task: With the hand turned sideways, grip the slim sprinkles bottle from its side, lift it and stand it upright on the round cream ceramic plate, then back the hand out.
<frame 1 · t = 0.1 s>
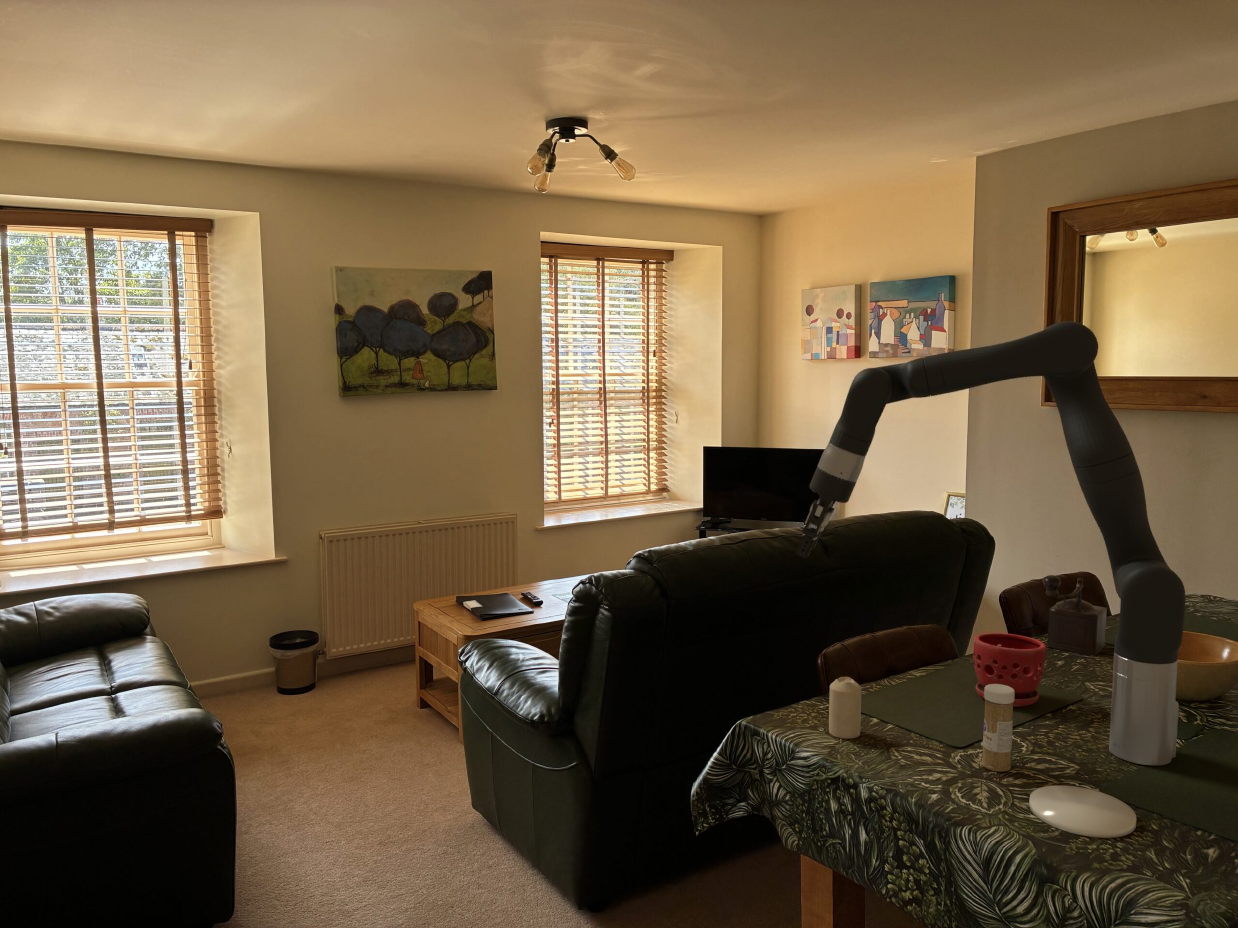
hand: (804, 551, 170), 31 cm above the table, tool tilted 20°, fingers open, 8 cm apart
plant pot: (1007, 699, 181), on the table
sprinkles bottle: (996, 767, 150), on the table
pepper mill: (1071, 649, 213), on the table
candle: (844, 733, 165), on the table
cream plate: (1081, 813, 134), on the table
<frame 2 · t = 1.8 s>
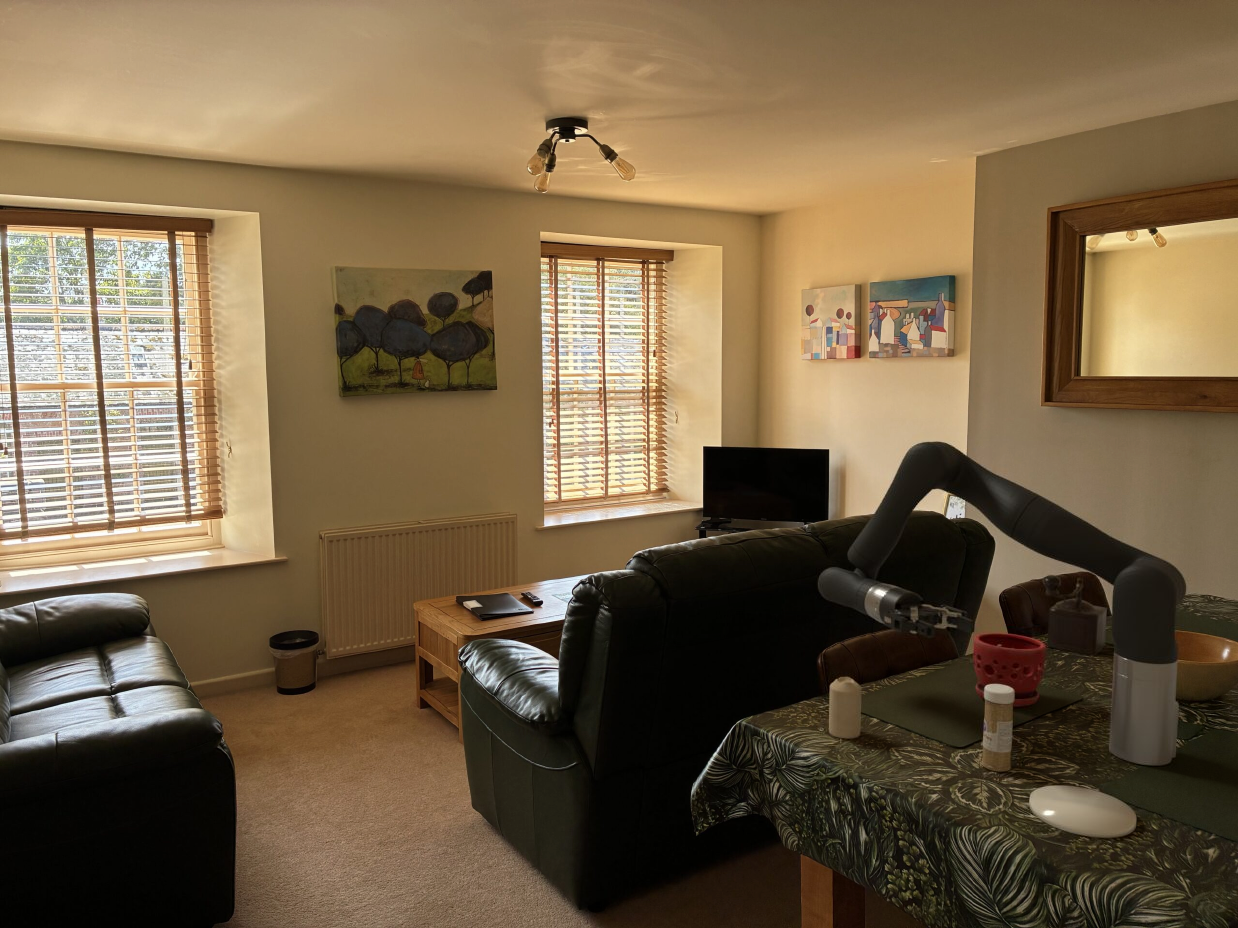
hand: (953, 629, 158), 20 cm above the table, tool horizontal, fingers open, 8 cm apart
nothing on the table moved.
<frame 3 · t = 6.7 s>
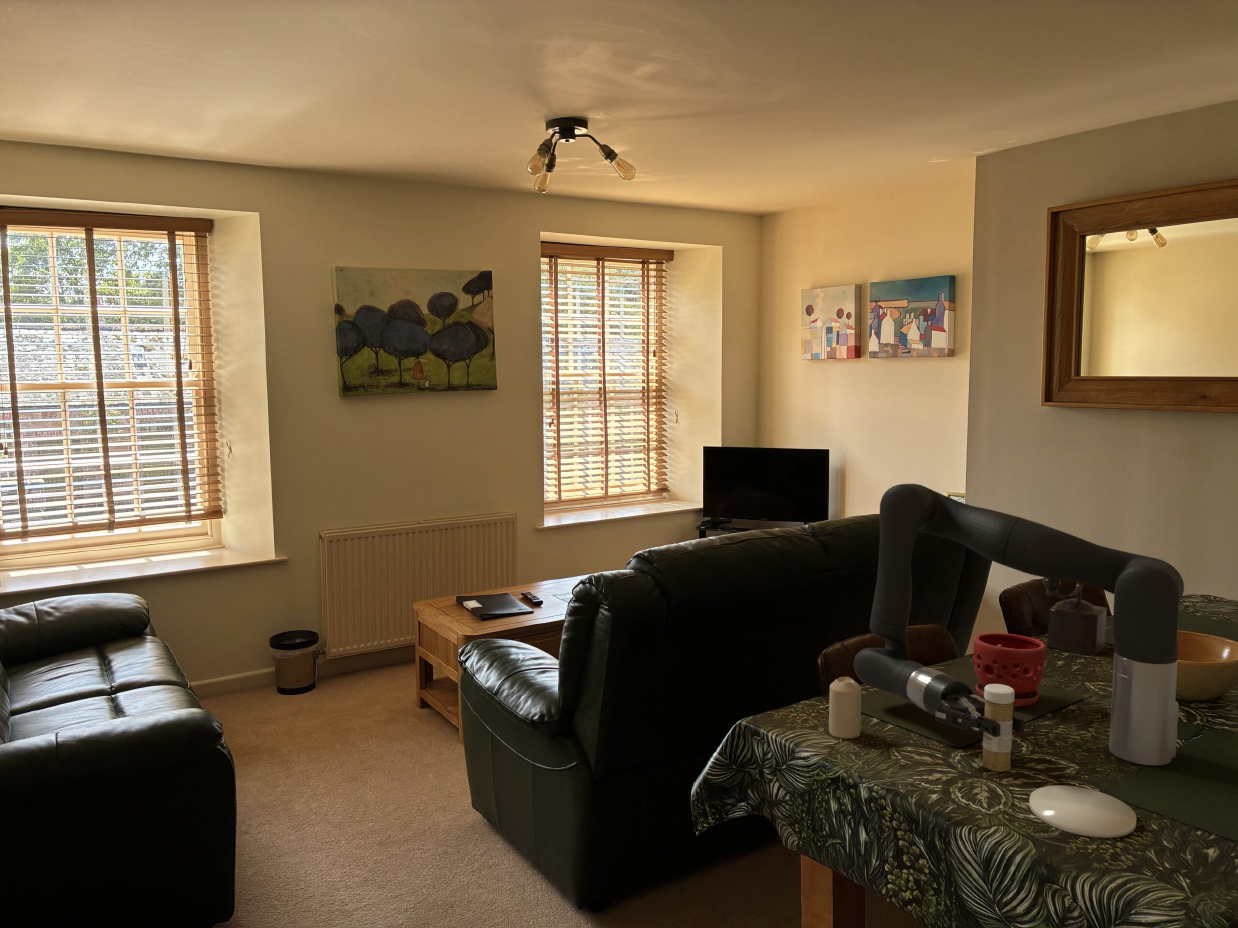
hand: (1010, 728, 147), 8 cm above the table, tool horizontal, fingers closed on sprinkles bottle, 4 cm apart
sprinkles bottle: (996, 767, 150), on the table, touching gripper
everything else where it was.
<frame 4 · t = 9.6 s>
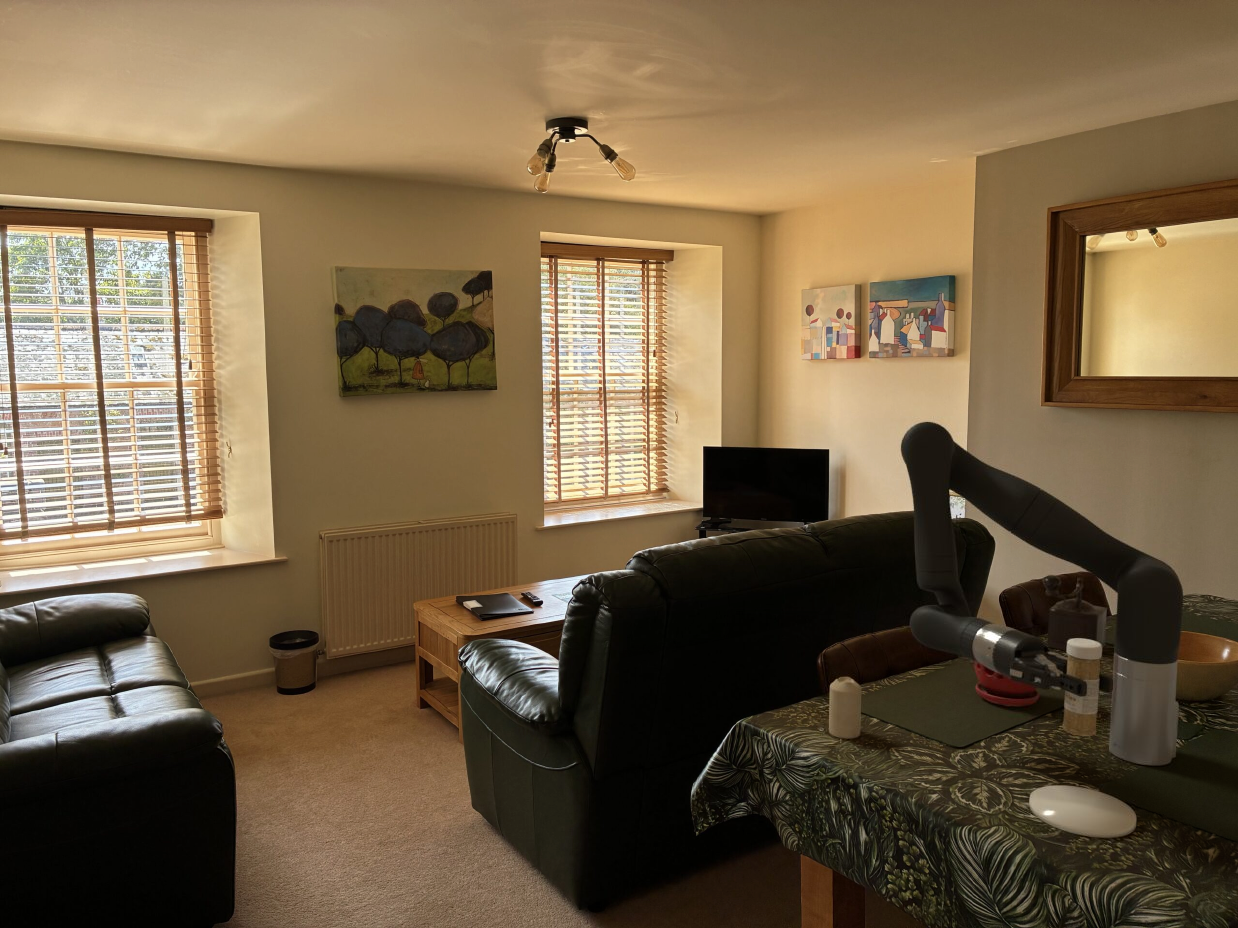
hand: (1097, 687, 131), 20 cm above the table, tool horizontal, fingers closed on sprinkles bottle, 4 cm apart
sprinkles bottle: (1079, 732, 134), point 12 cm above the table, touching gripper
everything else where it was.
when the fingers open (9 cm above the table, at t = 12.5 s): sprinkles bottle stays where it is, resting on cream plate.
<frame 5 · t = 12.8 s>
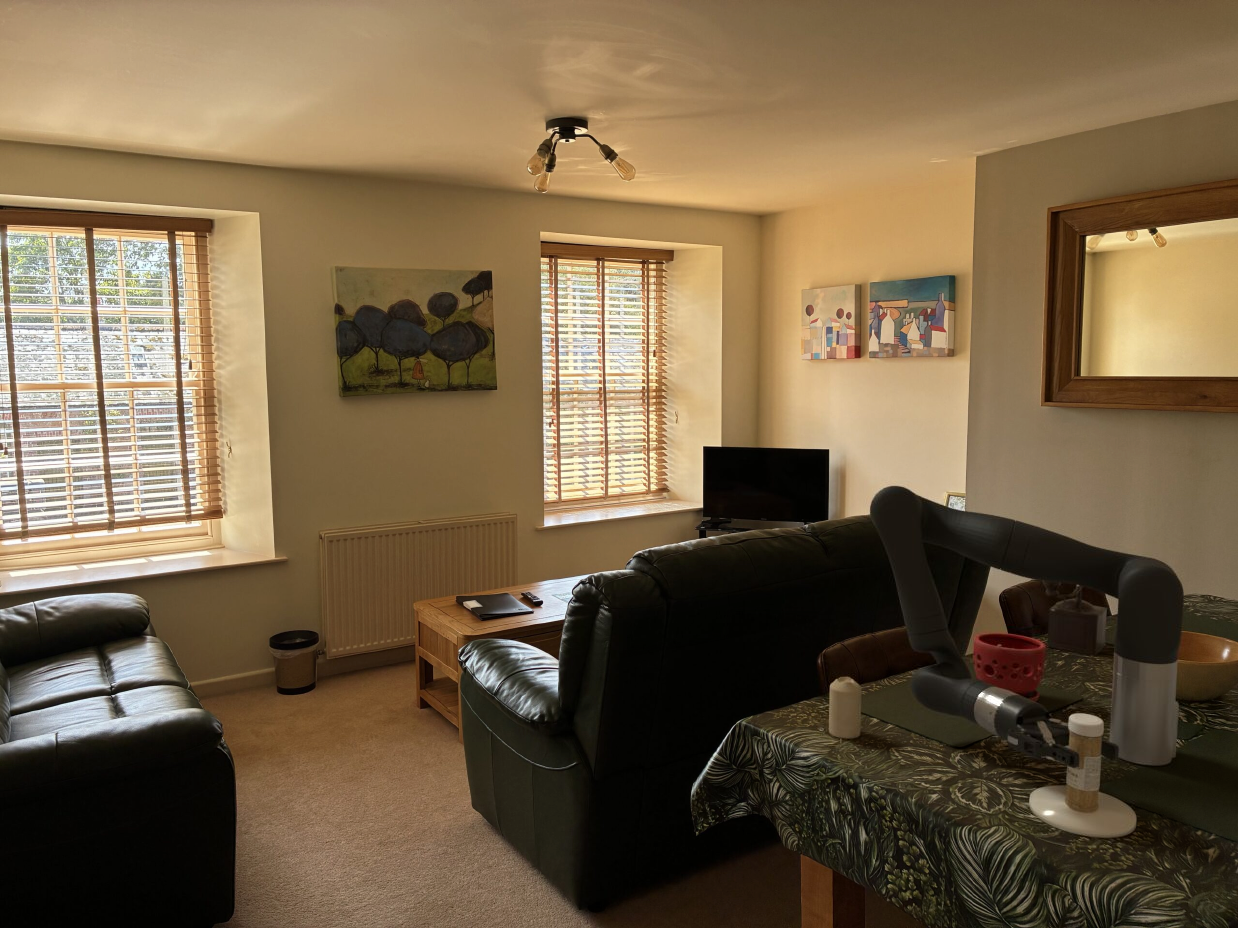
hand: (1097, 757, 131), 9 cm above the table, tool horizontal, fingers open, 7 cm apart
sprinkles bottle: (1081, 807, 134), point 1 cm above the table, touching cream plate
everything else where it was.
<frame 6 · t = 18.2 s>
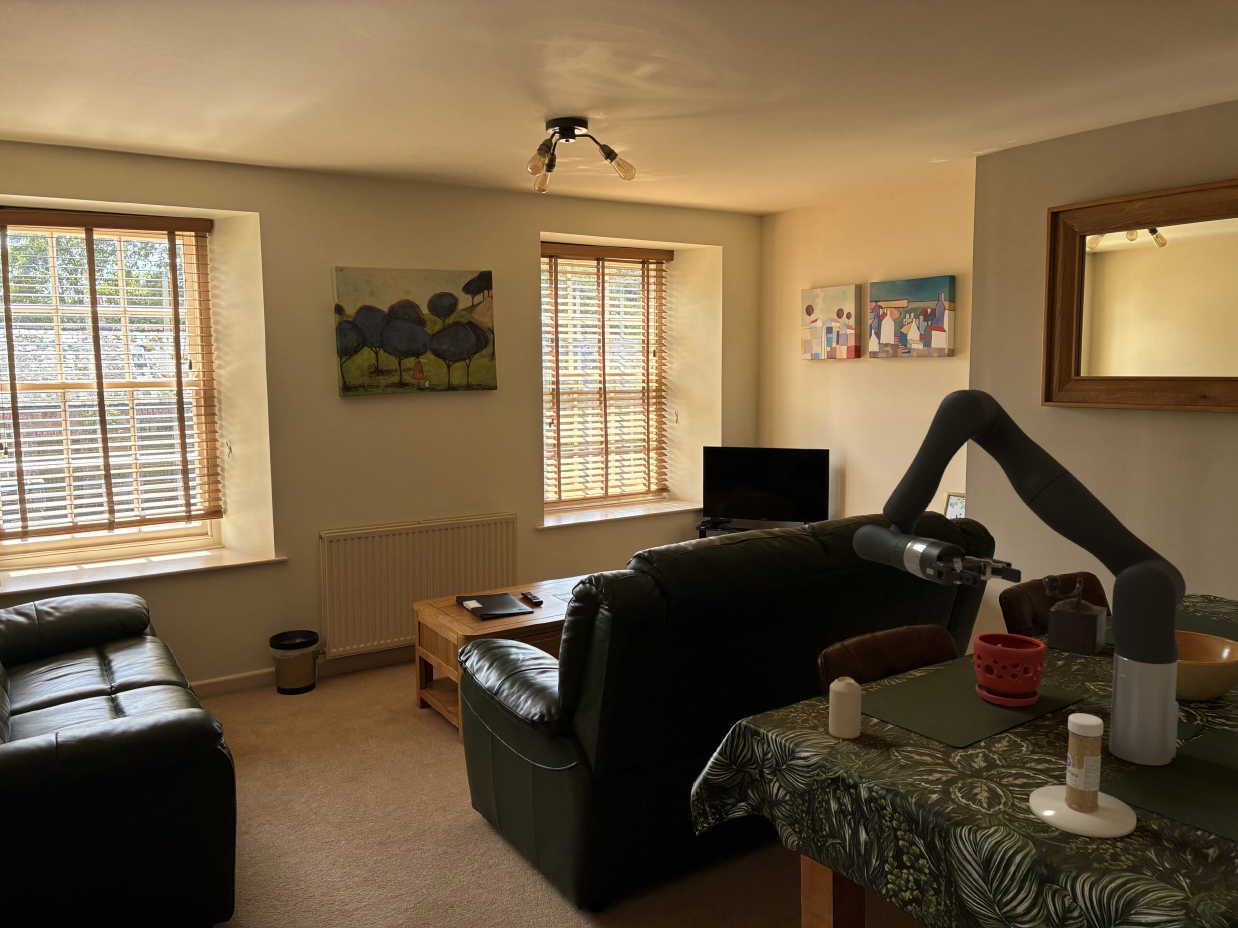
hand: (999, 579, 153), 30 cm above the table, tool horizontal, fingers open, 8 cm apart
nothing on the table moved.
at the end: sprinkles bottle inside the target area on the cream plate (0.3 cm from its centre), point 0.8 cm above the cream plate's base; sprinkles bottle tilted 0°; the gripper is holding nothing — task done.
